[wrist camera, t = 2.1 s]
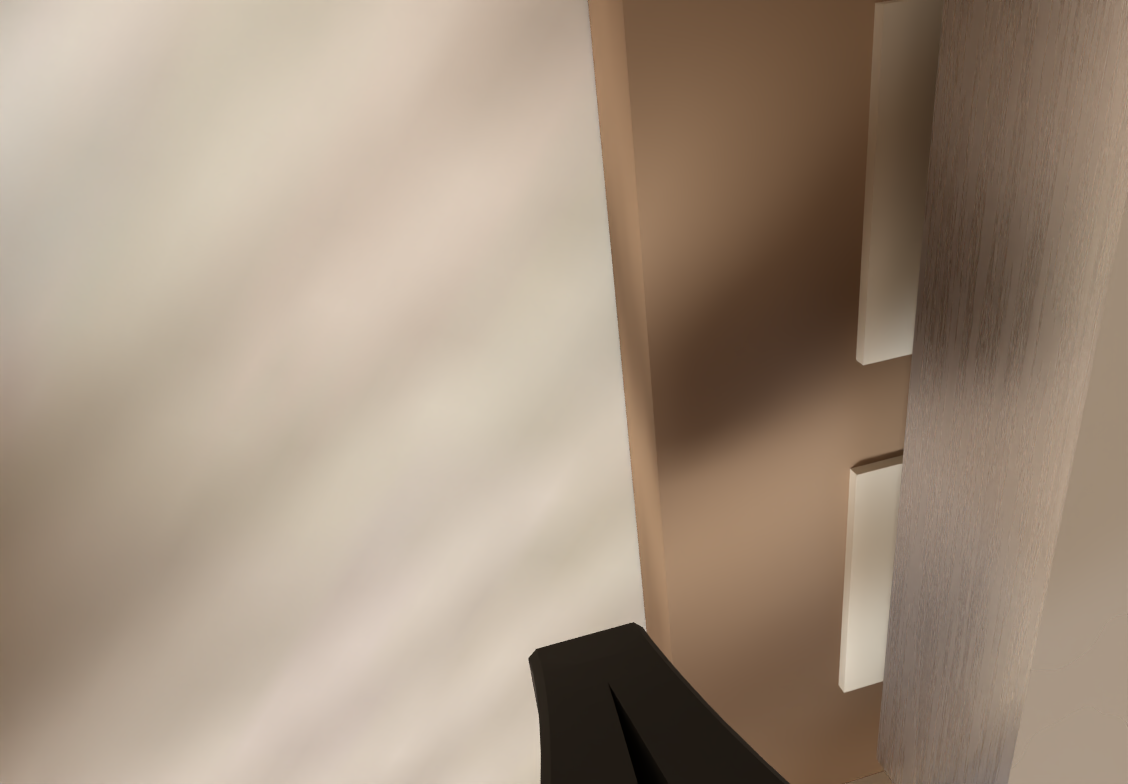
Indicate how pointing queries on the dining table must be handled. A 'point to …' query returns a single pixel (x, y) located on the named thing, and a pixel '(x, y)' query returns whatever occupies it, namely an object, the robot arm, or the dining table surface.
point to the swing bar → (1017, 412)
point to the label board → (769, 342)
